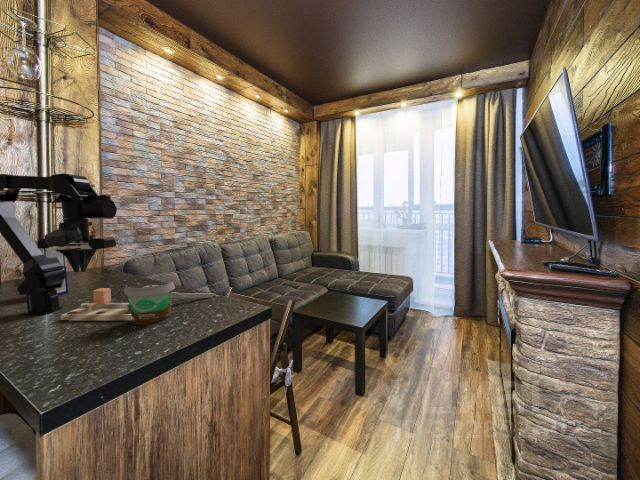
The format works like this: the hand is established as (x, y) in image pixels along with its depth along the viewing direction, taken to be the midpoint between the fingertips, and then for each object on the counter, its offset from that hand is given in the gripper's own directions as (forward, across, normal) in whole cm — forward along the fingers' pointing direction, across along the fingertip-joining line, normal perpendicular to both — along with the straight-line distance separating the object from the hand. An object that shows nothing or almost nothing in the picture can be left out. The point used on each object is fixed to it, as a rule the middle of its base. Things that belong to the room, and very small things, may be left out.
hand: (79, 272), depth 88 cm
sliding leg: (+10, +6, -2) cm, 12 cm away
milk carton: (+12, -25, +18) cm, 33 cm away
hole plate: (+12, +9, -2) cm, 15 cm away
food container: (+12, +24, -8) cm, 28 cm away
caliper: (+12, +27, +10) cm, 31 cm away
